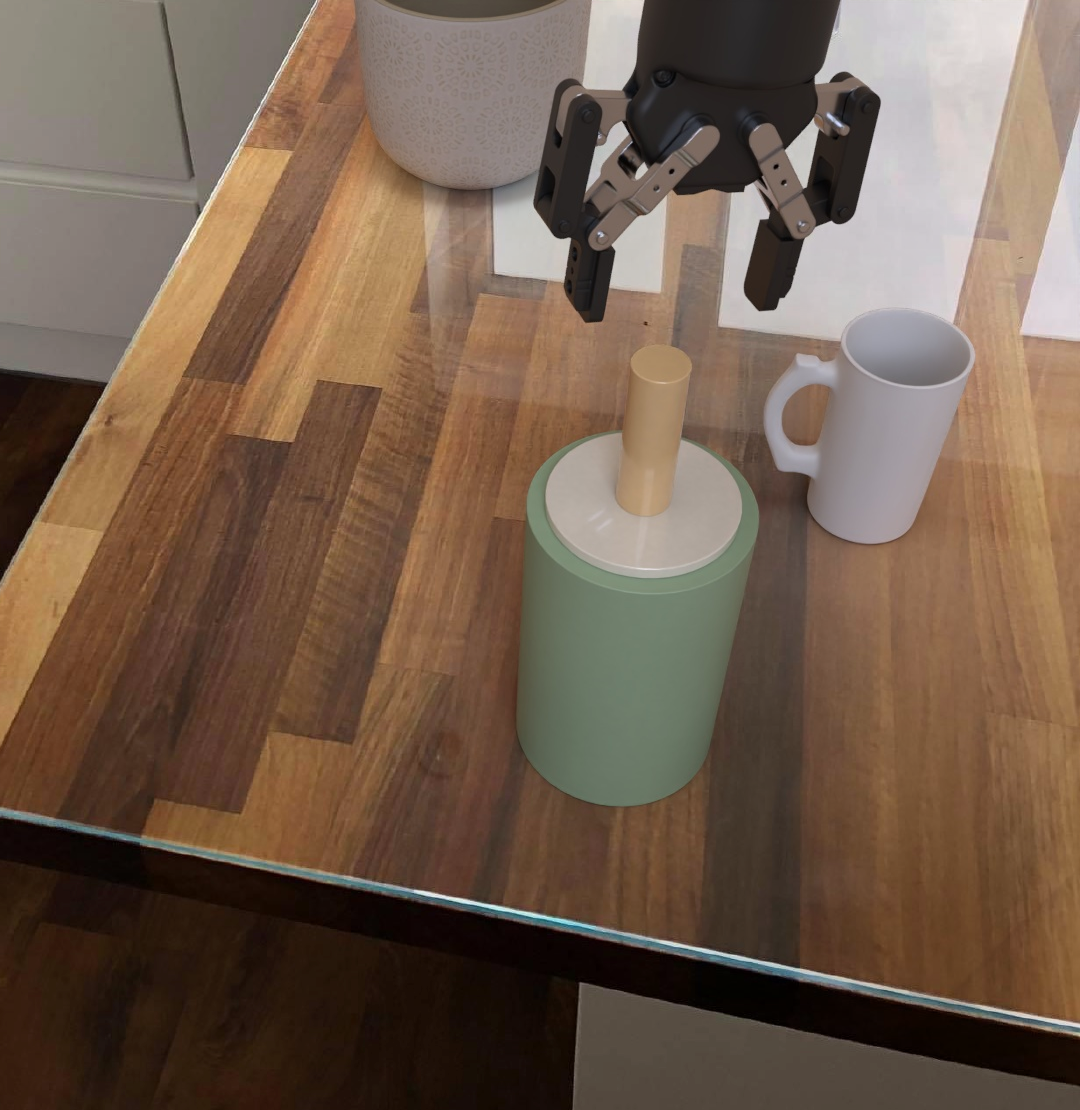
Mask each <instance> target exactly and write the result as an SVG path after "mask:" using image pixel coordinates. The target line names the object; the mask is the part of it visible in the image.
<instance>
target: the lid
mask: <svg viewBox="0 0 1080 1110" xmlns="http://www.w3.org/2000/svg"><path fill="white" fill-rule="evenodd" d="M692 371H693V363H692V360H691V358H690V357H689V355H688V354H687V353H686V352H685V351H683V350H682V349H680V348H678V347H676V346H672V345H669V344H661V343H659V344H658V343H656V344H649V345H645V346H642V347H641V348H638V349H637V350H636V351H635V352H634V353H633V354H632V355H631V358H630V361H629V369H628V377H627V378H628V379H627V387H626V396H625V405H624V412H623V413H624V415H623V422H622V429H621V430H622V433H615V434H609V435H605V436H601V437H597V438H594V439H592V440H589V441H587V442H585V443H583V444H581V445H579V446H577V447H575V448H574V449H572V450H571V451H570V452H568V453H567V454H566V455H565V456H564V457H563V458H562V459H560V461H559V462H558V463H557V464H556V466H555V467H554V469H553V470H552V472H551V474H550V476H549V479H548V481H547V484H546V491H545V511H546V516H547V519H548V522H549V524H550V527H551V529H552V530H553V532H554V533H555V535H556V537H557V538H558V539H559V540H560V541H561V543H562V544H563V545H564V546H565V547H566V548H567V549H568V550H569V551H571V552H572V553H573V554H574V555H576V556H577V557H579V558H580V559H582V560H583V561H585V562H587V563H589V564H591V565H592V566H595V567H597V568H600V569H602V570H604V571H608V572H611V573H614V574H618V575H623V576H628V577H635V578H667V577H673V576H679V575H683V574H686V573H690V572H693V571H695V570H698V569H700V568H702V567H704V566H706V565H708V564H709V563H711V562H713V561H714V560H716V559H717V558H718V557H719V556H721V555H722V554H723V553H724V552H725V551H726V550H727V548H728V547H729V546H730V545H731V543H732V542H733V540H734V539H735V537H736V534H737V532H738V530H739V525H740V521H741V516H742V499H741V494H740V491H739V488H738V485H737V483H736V482H735V480H734V478H733V476H732V475H731V474H730V472H729V471H728V470H727V468H726V467H725V466H724V465H723V464H722V463H721V462H720V461H719V460H717V459H716V458H715V457H713V456H712V455H711V454H710V453H708V452H706V451H705V450H703V449H701V448H700V447H698V446H696V445H694V444H692V443H689V442H687V441H684V440H681V437H683V436H682V435H683V428H684V422H685V416H686V415H685V414H686V409H687V403H688V397H689V390H690V383H691V377H692Z"/></svg>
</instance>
